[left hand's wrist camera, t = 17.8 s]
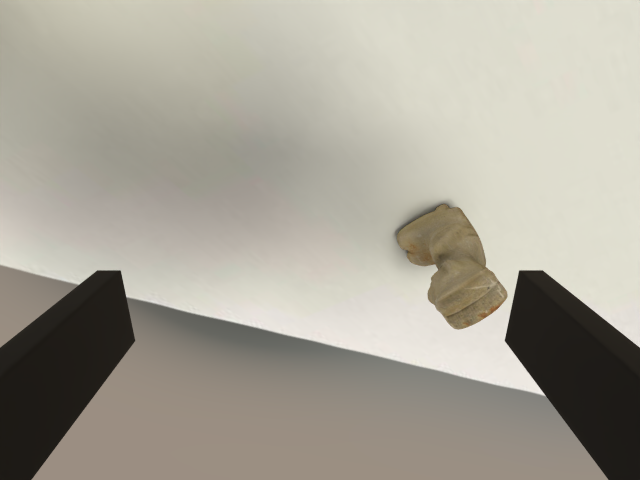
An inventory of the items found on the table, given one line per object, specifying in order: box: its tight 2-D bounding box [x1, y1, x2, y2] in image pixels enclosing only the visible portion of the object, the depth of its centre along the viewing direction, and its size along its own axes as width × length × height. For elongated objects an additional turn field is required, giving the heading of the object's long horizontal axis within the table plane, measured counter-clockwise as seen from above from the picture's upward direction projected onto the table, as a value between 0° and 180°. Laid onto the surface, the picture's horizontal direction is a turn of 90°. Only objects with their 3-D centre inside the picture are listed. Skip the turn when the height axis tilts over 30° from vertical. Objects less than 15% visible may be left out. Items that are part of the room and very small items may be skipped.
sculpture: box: [397, 204, 507, 329], centre depth 35 cm, size 6×7×15 cm
